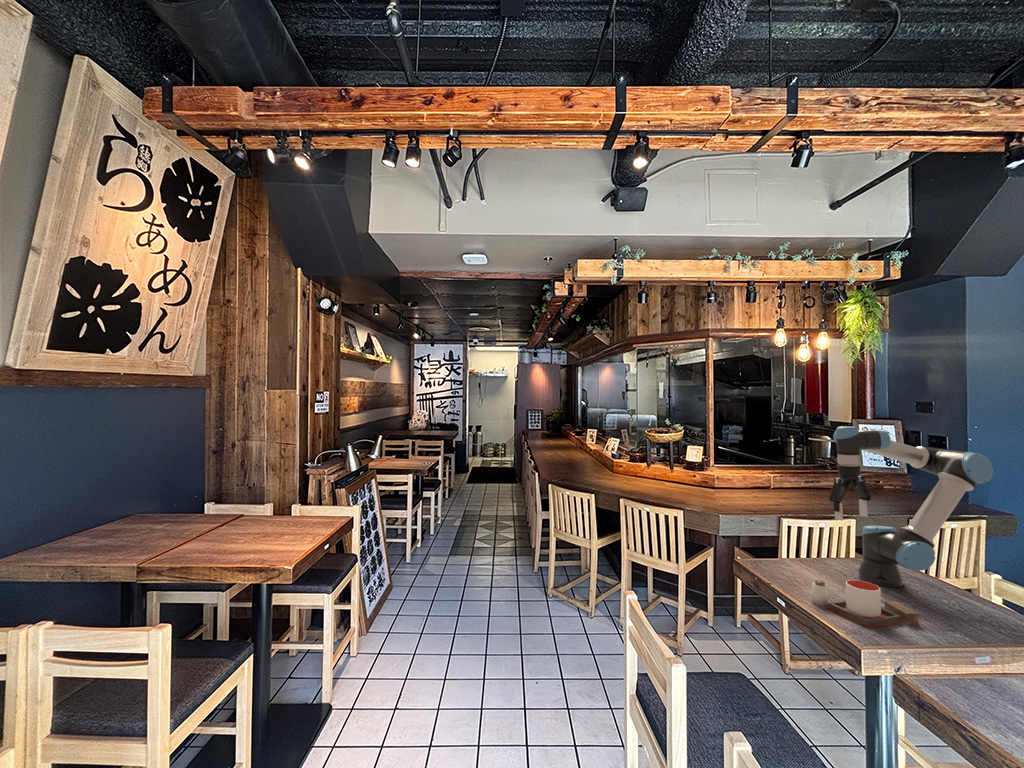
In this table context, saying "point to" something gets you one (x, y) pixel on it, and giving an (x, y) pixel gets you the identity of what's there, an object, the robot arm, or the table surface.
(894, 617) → the tray
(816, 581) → the ceramic jar
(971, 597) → the table surface
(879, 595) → the cup
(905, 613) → the box
